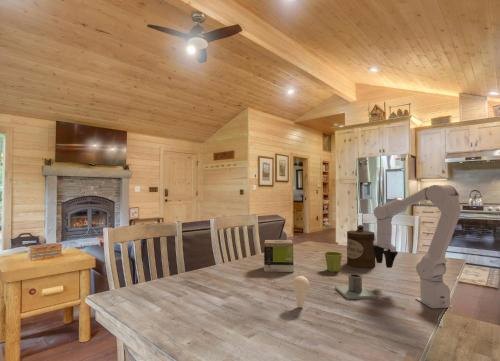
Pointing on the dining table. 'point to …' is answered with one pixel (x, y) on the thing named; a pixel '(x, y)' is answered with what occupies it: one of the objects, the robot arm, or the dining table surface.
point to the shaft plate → (350, 295)
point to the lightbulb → (300, 289)
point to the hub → (355, 283)
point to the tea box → (278, 256)
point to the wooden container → (360, 248)
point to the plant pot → (333, 261)
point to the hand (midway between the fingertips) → (384, 265)
